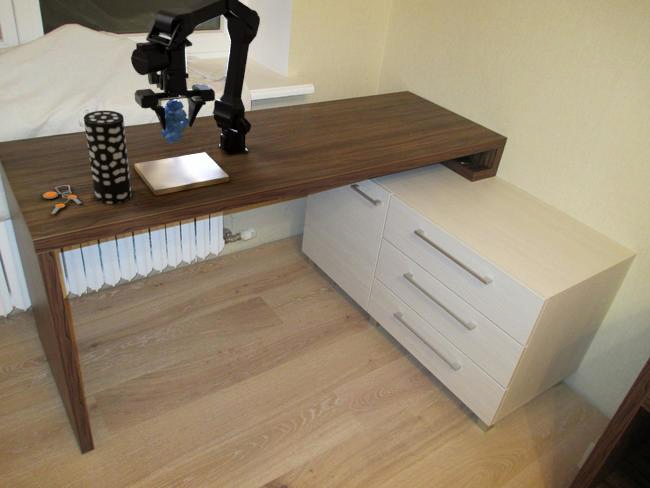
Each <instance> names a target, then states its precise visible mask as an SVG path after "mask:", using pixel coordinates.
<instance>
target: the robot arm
mask: <svg viewBox="0 0 650 488" xmlns="http://www.w3.org/2000/svg"><path fill="white" fill-rule="evenodd" d="M219 17H223V18H224V19H225V20H226V32H227V33H228V37H229V40H230V46H229V52H228V58H227V65H226V73H225V80H224V86H223V87H224V88H223V93H222V95H221V96H220V98H219V99H216V93H215V90H214V89H213V88H212V87H210V86H209V85H208V84H207V83H197V84H192V85H191V89H188V79H189V73H188V72H187V69H188V68H187V48H189V47H192V46H193V44H194V43H193V42H191V40H189V39H188V37H190V36H191V35H193V34H194V32H195V29H196V28H197V27H199V26H200V25H202V24H205V23H207V22H210V21H212V20H214V19H216V18H219ZM260 25H261V18H260V16H259V12H257V11H256V10H254V9H252V8H250V7H249V6H247V5H246V4H245V3H243V2H241V1H240V0H200V1H198V2H195V3H193V4H190V5H188V6H186V7H168V8H161V9H160V10H158V11H157V12H156V13H155V18H154V20H153V22H152V25H151V26H150V29H149V31H148V33H147V36H146V38H145V40H146V42H136V44H135V47H136V48H135V49H133V50H132V53H131V56H130V61H131V66H132V67H133V70H134V71H135V72H136V73H137V74H138V75H139V76H146V75H147V80H148V85H156V88H157V89H159V90H160V91H163V92H155V91H154V90H153V89H152V88H143V89H136V91H134V102H136V103H137V104H138V106H139V107H140V108H141V109H150V110H151V111H154V112H155V115H156V117H157V120H158V122H159V125H160V126H161V130H164V131H165V130H166V120H165V117H166V116H165V108H164V107H165V106H163V105H162V101H164V102H165V101H169V100H173V99H175V100H180V99H181V100H182V99H187V105H188V107H187V108H188V109H187V111H188V113H187V119H188V121H189V123H188V127H189V128H193V126H194V123H195V121H196V119H197V116H198V114H199V113H200V111H201V109H202V108H203V106H206V105H207V102H213V103H214V105H213V111H212V114H213V120H214V121H215V123H216V127H217V128H219V129H221V134H219V142H220V143H219V148H220V149H221V150H222V151H224V153H225V154H226V155H235V154H241V153H247V152H248V151H249V149H248V148H247V147H246V135H248V133H250V131H251V128H252V123H250V122H249V120H248V119H247V118H246V117H245V116H246V107H245V104H244V102H243V99H242V94H243V87H244V81H245V75H246V69H247V61H248V55H249V48H250V45H251V43H252V42H253V41H254V39H255V38H256V37H257V36H258V31H259V27H260ZM159 72H160V73H159Z"/></svg>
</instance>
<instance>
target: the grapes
mask: <svg viewBox="0 0 650 488" xmlns="http://www.w3.org/2000/svg"><path fill="white" fill-rule="evenodd" d="M163 107H164V108H165V120H166V130H165V131H164V130H163V129H161V131H160V134H161V136H162V137H163V138H164V139H165V141H166V142H167V143H168V144H169V145H173V144H174V143H177V142H179V141H181V139H182V138H183V134H182V133H183V132H184V131H185V130H186V128H187V126H189V121H188V113H187V112H186V110H185V109H184V107H185V105H184V103H183V102H182V101H181V100H180V99H173V100H167V101H166V103H165V106H163Z"/></svg>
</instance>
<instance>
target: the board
mask: <svg viewBox="0 0 650 488" xmlns="http://www.w3.org/2000/svg"><path fill="white" fill-rule="evenodd" d="M133 165H134V170H135V171H136V172H137V174H138V175H139V177H140V178H141V179H142V180H143V182H144V183H145V184H146V185H147V187H148V189H150V191H151V192H152V193H153V194H154V195H155V196H161V195H166V194H171V193H175V192H181V191H186V190H192V189H196V188H201V187H207V186H213V185H218V184H222V183H227V182H230V176H229V174H227V172H225V170H223V168H221V166H219V165H218V164H217V163H216V162H215V161H214V159H212V158H211V157H210V156H209V155H208V153H206V152H199V153H193V154H186V155H181V156H180V155H179V156H174V157H169V158H162V159H155V160H150V161H143V162H137V163H134V164H133Z"/></svg>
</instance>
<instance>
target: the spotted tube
mask: <svg viewBox="0 0 650 488" xmlns="http://www.w3.org/2000/svg"><path fill="white" fill-rule="evenodd" d="M83 122H84V123H83V124H84V129H85V135H86V144H87V151H88V156H89V157H88V158H89V163H90V170H91V176H92V183H93V191H94V197H95V199H96V201H98V202H100V203H103V204H109V205H116V204H121V203H124V202H127V201H128V200H129V199H131V198H132V184H131V175H130V167H129V157H128V147H127V139H126V129H125V119H124V115H123V114H122V113H121V112H117V111H114V110H95V111H91V112H88V113H86V114H85V115H84V116H83Z"/></svg>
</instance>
